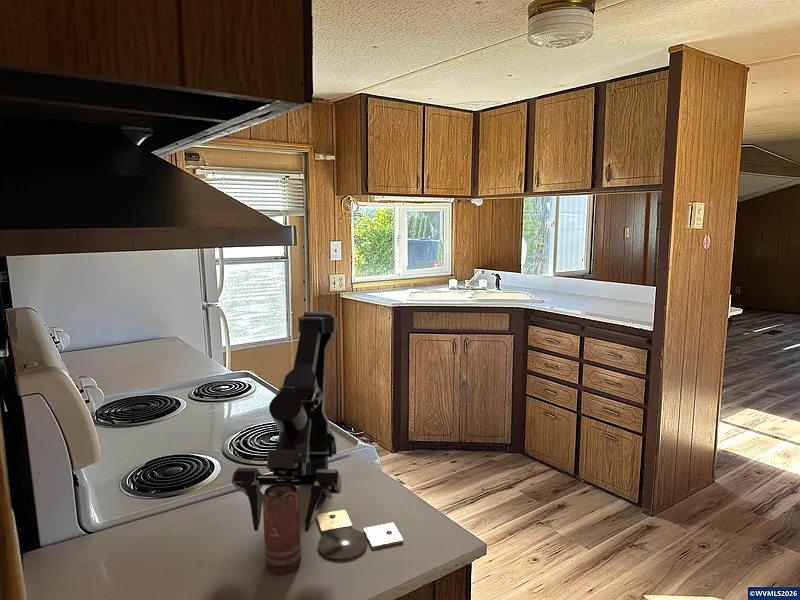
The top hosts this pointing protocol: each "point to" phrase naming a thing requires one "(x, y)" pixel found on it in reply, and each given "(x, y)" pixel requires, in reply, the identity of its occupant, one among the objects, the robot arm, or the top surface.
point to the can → (282, 528)
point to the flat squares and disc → (351, 536)
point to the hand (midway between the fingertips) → (280, 531)
